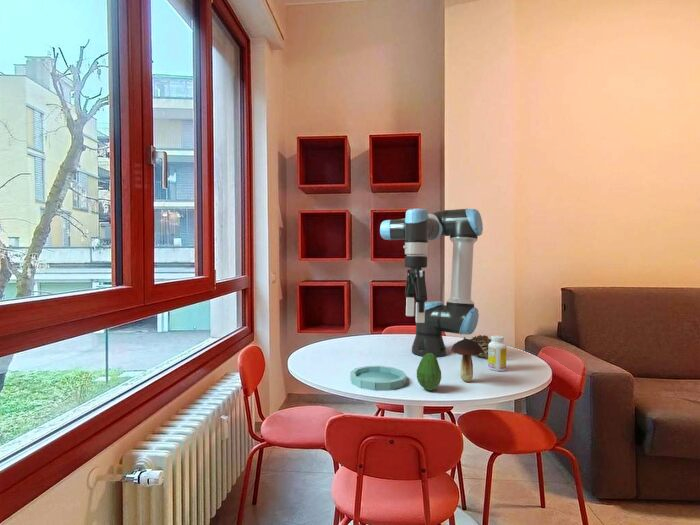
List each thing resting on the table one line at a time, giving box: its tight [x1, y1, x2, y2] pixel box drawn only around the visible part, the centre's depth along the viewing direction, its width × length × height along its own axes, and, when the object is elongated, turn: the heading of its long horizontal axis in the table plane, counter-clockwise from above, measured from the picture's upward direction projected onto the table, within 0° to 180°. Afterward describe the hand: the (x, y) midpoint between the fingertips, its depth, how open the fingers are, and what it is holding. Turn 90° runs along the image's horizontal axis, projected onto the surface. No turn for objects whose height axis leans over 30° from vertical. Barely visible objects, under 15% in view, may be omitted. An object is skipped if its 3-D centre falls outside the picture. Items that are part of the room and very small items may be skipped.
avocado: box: [416, 353, 442, 391], centre depth 127 cm, size 8×8×12 cm
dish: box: [349, 365, 407, 391], centre depth 135 cm, size 19×19×2 cm
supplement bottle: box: [487, 335, 508, 372], centre depth 150 cm, size 7×7×13 cm
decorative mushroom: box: [450, 338, 483, 383], centre depth 135 cm, size 11×11×15 cm
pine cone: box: [463, 334, 492, 358], centre depth 171 cm, size 22×10×10 cm, turn 19°
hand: (414, 319), depth 129 cm, fingers open, 13 cm apart
